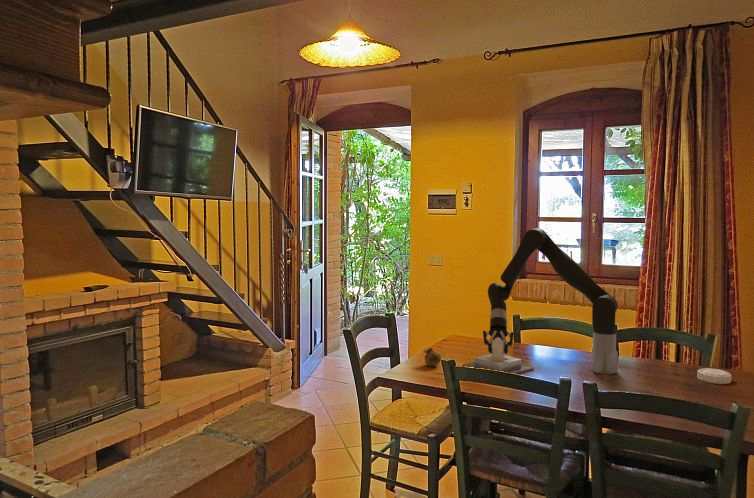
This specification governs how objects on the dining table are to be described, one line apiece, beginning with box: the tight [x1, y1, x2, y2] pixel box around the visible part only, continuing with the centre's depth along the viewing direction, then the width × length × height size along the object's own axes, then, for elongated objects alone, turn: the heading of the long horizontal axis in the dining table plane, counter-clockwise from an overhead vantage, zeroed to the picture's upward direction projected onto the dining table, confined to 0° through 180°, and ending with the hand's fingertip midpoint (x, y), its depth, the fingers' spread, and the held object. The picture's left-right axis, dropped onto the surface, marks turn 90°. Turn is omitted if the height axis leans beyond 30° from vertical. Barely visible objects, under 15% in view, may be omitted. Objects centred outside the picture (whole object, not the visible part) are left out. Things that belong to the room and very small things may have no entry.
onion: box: [423, 347, 442, 367], centre depth 244 cm, size 8×8×8 cm
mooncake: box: [696, 367, 732, 385], centre depth 223 cm, size 12×12×4 cm
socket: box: [461, 353, 535, 375], centre depth 240 cm, size 22×22×4 cm
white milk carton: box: [490, 337, 506, 362], centre depth 240 cm, size 6×12×6 cm
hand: (497, 352), depth 238 cm, fingers closed on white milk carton, 6 cm apart
